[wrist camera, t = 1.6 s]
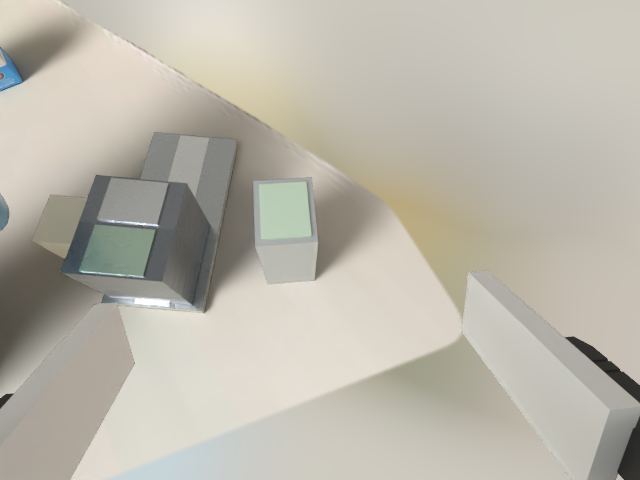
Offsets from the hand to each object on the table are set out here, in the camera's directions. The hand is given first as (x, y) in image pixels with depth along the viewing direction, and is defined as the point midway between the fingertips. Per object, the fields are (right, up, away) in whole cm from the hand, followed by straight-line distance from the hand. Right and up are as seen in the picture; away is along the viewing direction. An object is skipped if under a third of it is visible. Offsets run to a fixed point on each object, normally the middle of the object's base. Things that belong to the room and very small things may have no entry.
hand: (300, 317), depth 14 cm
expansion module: (-3, +1, +26) cm, 26 cm away
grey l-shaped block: (-15, +6, +28) cm, 32 cm away
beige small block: (-25, +3, +26) cm, 36 cm away
